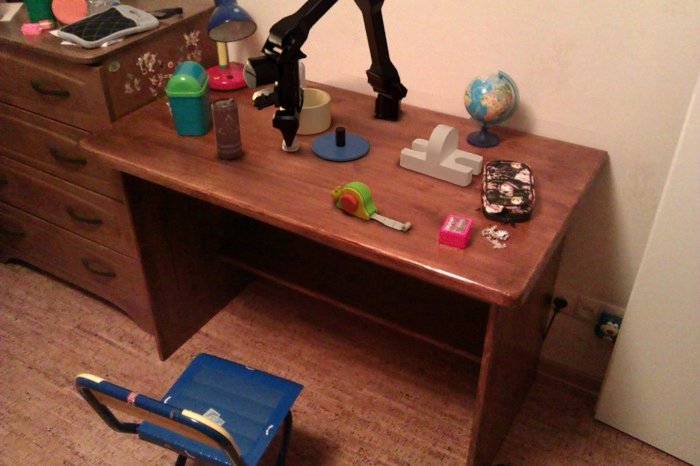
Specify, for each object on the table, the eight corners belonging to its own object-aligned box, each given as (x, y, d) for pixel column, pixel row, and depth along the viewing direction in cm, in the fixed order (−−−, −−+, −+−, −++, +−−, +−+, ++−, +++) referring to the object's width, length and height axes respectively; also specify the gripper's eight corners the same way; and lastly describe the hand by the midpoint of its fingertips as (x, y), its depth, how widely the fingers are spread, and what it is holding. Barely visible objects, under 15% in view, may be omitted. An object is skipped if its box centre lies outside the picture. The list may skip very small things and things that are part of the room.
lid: (364, 135, 161) (365, 115, 158) (372, 161, 149) (373, 140, 146) (310, 137, 160) (309, 117, 156) (313, 164, 148) (313, 143, 144)
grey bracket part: (465, 187, 140) (471, 145, 133) (398, 165, 148) (400, 125, 141) (482, 170, 146) (488, 129, 140) (416, 150, 154) (420, 111, 148)
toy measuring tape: (341, 195, 136) (341, 169, 132) (416, 224, 127) (418, 197, 123) (324, 208, 132) (323, 182, 128) (400, 238, 123) (402, 211, 119)
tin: (328, 112, 172) (328, 87, 168) (332, 133, 161) (332, 107, 157) (280, 114, 171) (278, 88, 167) (281, 135, 160) (279, 109, 156)
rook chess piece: (302, 146, 155) (301, 117, 151) (295, 153, 152) (294, 124, 147) (286, 143, 157) (284, 114, 152) (279, 151, 153) (277, 121, 148)
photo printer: (308, 99, 180) (306, 58, 173) (295, 102, 178) (293, 61, 171) (290, 88, 187) (288, 48, 179) (278, 91, 185) (275, 51, 177)
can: (247, 151, 153) (242, 99, 145) (233, 162, 148) (227, 109, 140) (227, 146, 155) (221, 94, 147) (212, 157, 150) (205, 104, 142)
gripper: (258, 64, 151) (263, 122, 160) (247, 93, 136) (253, 155, 145) (303, 65, 151) (305, 122, 160) (297, 94, 136) (300, 156, 145)
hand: (290, 138), depth 153 cm, fingers open, 9 cm apart
